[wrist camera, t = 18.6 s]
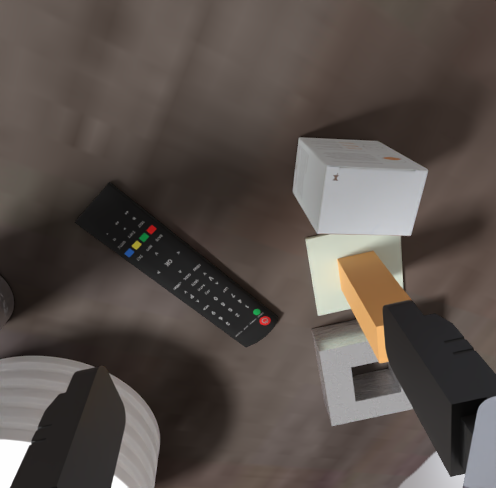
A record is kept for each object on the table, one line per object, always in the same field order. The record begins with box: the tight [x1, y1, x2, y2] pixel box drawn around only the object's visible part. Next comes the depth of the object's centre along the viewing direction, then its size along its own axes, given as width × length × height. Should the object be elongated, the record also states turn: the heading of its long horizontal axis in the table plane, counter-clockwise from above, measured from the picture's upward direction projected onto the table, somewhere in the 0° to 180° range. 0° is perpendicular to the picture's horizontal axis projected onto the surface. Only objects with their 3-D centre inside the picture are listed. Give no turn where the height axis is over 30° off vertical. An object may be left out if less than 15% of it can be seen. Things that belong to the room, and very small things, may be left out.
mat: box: [305, 234, 403, 316], centre depth 46 cm, size 10×10×1 cm
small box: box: [293, 137, 428, 236], centre depth 36 cm, size 8×6×10 cm
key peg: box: [337, 251, 411, 363], centre depth 40 cm, size 4×4×12 cm
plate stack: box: [0, 356, 160, 488], centre depth 49 cm, size 28×28×12 cm
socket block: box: [312, 319, 413, 426], centre depth 50 cm, size 12×12×4 cm
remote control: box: [75, 182, 278, 347], centre depth 45 cm, size 5×24×1 cm, turn 45°
